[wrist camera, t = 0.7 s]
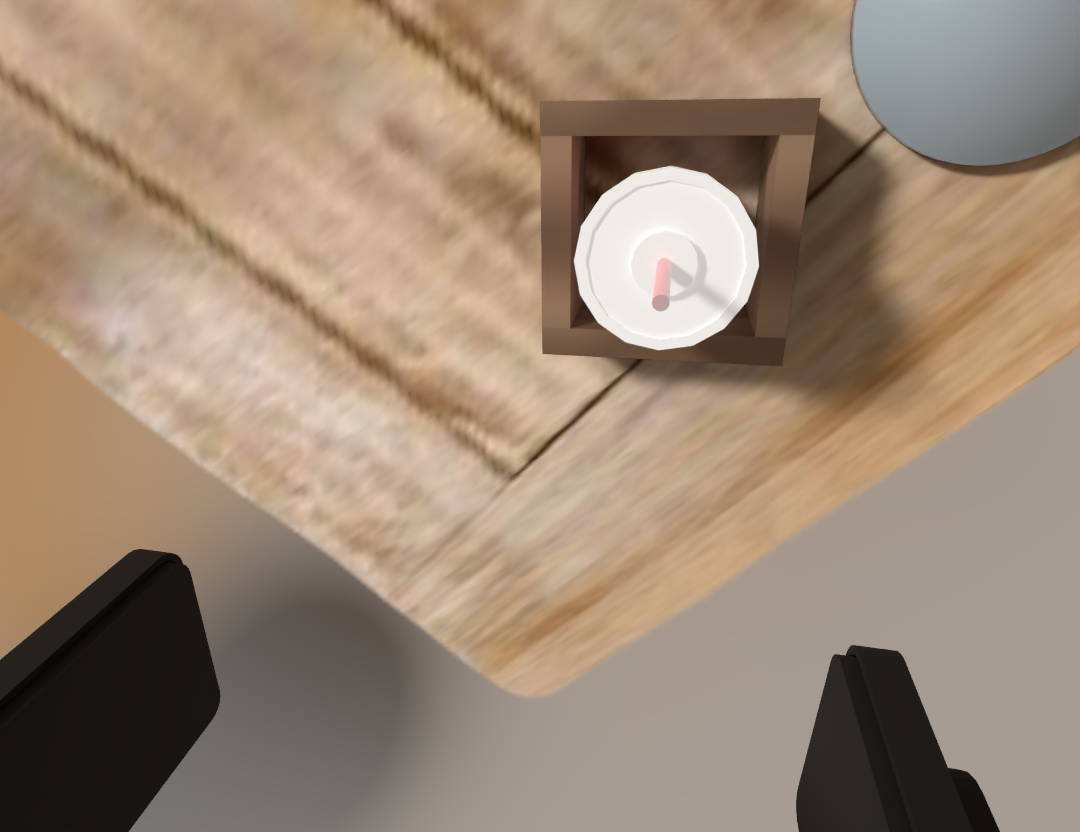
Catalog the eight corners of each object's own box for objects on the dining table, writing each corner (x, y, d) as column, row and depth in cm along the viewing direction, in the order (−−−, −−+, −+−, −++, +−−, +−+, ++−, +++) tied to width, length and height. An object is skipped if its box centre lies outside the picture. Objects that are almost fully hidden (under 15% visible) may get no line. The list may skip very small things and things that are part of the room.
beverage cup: (627, 306, 33) (595, 432, 20) (580, 182, 31) (514, 236, 19) (755, 261, 31) (806, 368, 19) (714, 125, 29) (740, 143, 17)
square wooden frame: (558, 101, 30) (540, 101, 26) (800, 98, 28) (820, 98, 24) (558, 323, 34) (542, 353, 30) (769, 333, 32) (781, 366, 28)
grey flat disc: (880, -166, 24) (886, -175, 24) (1238, -192, 22) (1256, -202, 22) (829, 163, 29) (832, 165, 28) (1123, 164, 27) (1135, 166, 26)
